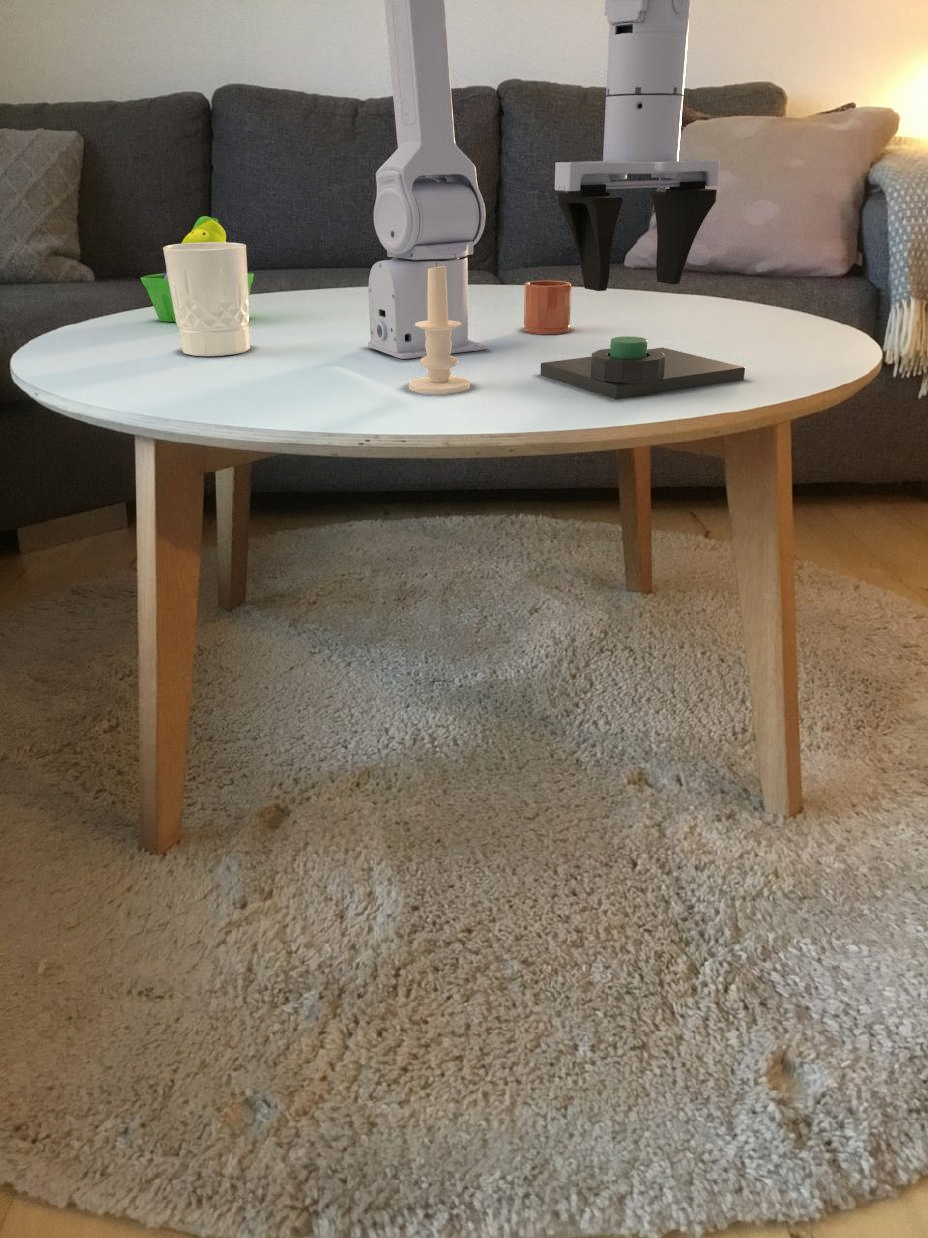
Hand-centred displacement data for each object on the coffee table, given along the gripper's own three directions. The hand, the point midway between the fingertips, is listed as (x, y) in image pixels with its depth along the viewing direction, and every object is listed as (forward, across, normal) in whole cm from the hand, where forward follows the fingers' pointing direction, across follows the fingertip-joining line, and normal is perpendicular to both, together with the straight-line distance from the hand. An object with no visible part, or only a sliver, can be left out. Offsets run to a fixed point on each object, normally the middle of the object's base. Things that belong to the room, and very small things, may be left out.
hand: (632, 286), depth 81 cm
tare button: (+6, 0, 0) cm, 6 cm away
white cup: (+9, -24, +36) cm, 44 cm away
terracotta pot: (+8, +11, +28) cm, 31 cm away
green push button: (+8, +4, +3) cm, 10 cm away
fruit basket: (+9, -19, +56) cm, 60 cm away
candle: (+9, -13, +9) cm, 18 cm away
